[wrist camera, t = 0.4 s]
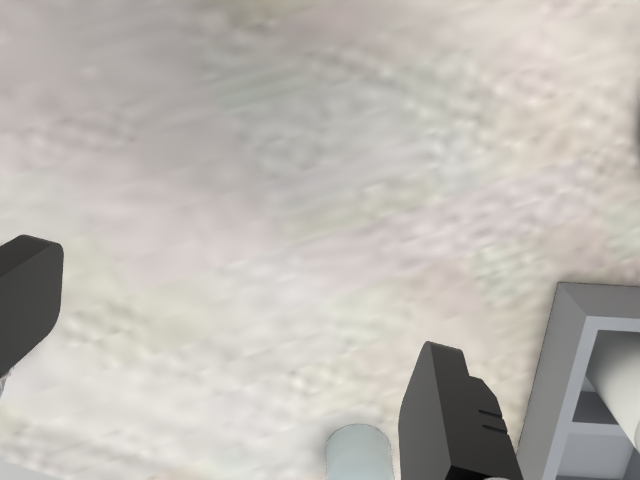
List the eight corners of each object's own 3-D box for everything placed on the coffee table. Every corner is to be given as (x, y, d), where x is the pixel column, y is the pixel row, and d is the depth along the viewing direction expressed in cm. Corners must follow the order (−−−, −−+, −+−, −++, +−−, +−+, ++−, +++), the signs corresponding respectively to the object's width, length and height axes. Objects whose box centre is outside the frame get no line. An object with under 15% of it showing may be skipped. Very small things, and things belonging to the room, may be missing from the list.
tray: (558, 282, 32) (586, 315, 29) (690, 289, 32) (735, 324, 28) (495, 541, 41) (511, 593, 37) (599, 548, 40) (625, 600, 37)
